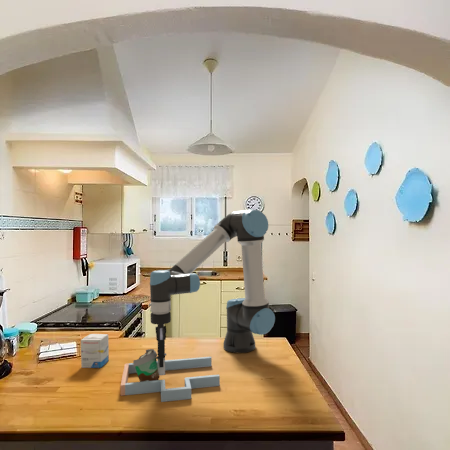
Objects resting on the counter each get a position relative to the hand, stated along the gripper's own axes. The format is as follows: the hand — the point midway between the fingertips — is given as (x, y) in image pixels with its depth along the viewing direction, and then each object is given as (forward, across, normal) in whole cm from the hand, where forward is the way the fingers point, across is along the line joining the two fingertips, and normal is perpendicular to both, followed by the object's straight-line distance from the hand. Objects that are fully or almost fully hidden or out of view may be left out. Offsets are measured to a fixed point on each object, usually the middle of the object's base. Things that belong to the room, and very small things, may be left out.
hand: (161, 374), depth 136 cm
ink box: (+2, -22, -27) cm, 35 cm away
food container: (+1, +1, -3) cm, 3 cm away
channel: (+2, +4, +3) cm, 5 cm away
